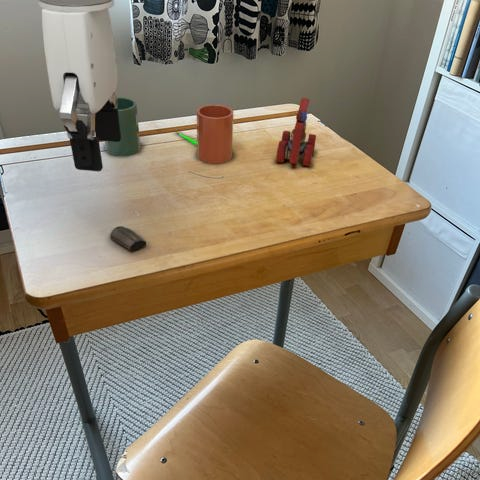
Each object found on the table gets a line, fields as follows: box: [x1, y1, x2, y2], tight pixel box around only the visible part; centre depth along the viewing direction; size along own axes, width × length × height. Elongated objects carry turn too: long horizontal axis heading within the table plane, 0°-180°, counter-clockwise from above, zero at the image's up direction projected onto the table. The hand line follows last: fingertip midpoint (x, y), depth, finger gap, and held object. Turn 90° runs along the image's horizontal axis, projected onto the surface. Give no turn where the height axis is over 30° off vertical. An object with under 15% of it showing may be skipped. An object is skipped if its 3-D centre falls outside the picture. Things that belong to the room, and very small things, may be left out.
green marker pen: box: [177, 132, 197, 146], centre depth 108 cm, size 1×14×1 cm, turn 43°
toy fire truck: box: [276, 97, 317, 167], centre depth 102 cm, size 7×12×10 cm, turn 168°
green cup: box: [103, 96, 141, 157], centre depth 102 cm, size 7×7×9 cm
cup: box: [196, 104, 235, 164], centre depth 102 cm, size 7×7×9 cm
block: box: [109, 225, 147, 251], centre depth 80 cm, size 4×6×2 cm, turn 45°
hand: (99, 153), depth 64 cm, fingers open, 7 cm apart
